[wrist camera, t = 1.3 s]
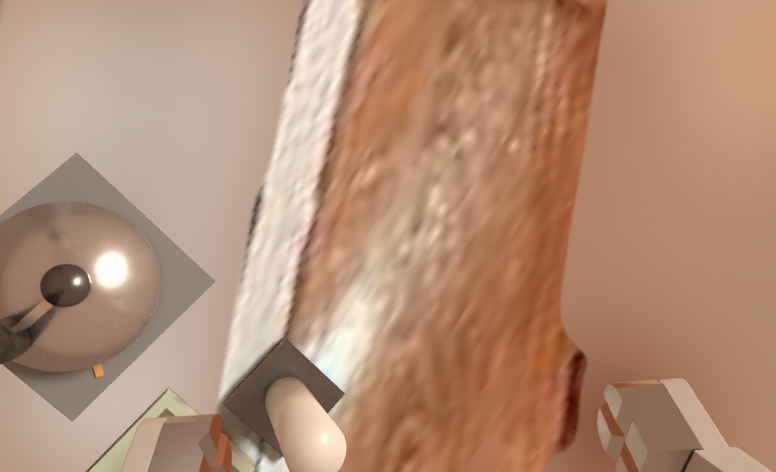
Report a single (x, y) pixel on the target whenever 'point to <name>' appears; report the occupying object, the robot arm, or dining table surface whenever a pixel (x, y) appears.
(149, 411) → the tray
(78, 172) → the crank base
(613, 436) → the robot arm
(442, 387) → the dining table surface
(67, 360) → the crank
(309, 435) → the pin
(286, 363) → the socket plate
